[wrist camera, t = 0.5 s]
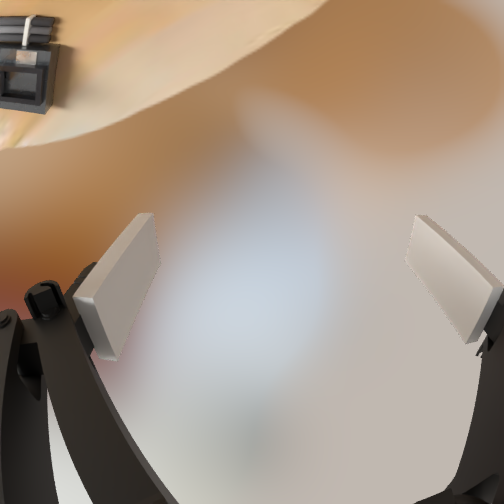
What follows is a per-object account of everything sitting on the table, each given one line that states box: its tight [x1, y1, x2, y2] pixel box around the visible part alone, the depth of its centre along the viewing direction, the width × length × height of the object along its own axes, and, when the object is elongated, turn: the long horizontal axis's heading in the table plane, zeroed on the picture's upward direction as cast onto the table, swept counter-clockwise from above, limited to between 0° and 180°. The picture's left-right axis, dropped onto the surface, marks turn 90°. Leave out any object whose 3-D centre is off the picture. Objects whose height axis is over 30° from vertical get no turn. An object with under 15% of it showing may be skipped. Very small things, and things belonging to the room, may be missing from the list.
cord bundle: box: [0, 15, 54, 46], centre depth 20 cm, size 18×5×2 cm, turn 61°
